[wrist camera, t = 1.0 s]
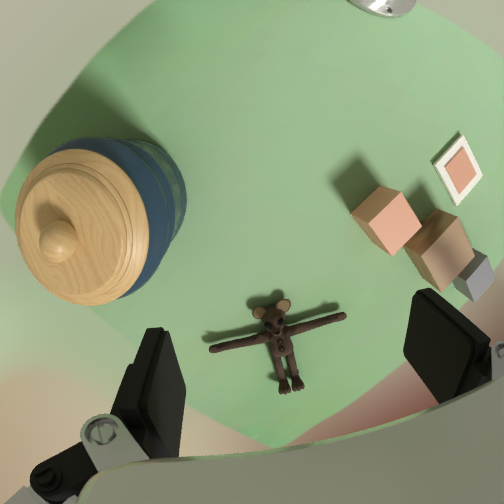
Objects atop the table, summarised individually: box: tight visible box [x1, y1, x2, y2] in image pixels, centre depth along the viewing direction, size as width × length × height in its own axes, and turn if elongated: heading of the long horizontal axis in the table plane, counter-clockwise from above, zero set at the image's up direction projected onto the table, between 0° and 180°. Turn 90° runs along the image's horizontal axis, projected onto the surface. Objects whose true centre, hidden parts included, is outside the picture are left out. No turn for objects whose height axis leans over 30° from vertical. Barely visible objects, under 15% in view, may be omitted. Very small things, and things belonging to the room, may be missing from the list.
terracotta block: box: [351, 186, 422, 256], centre depth 32 cm, size 5×5×5 cm
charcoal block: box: [453, 248, 495, 302], centre depth 36 cm, size 5×5×5 cm
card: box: [432, 135, 483, 206], centre depth 33 cm, size 7×7×1 cm
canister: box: [15, 137, 187, 306], centre depth 23 cm, size 13×13×18 cm
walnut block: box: [403, 208, 475, 293], centre depth 34 cm, size 7×7×5 cm
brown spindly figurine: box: [209, 299, 347, 395], centre depth 38 cm, size 18×4×14 cm
